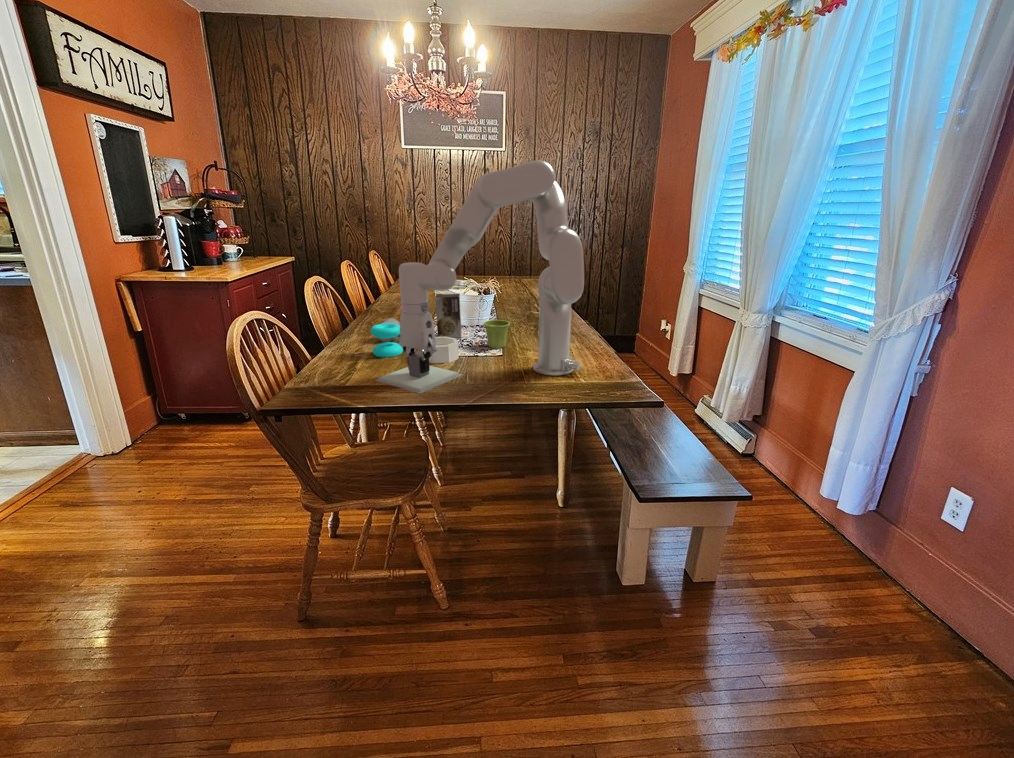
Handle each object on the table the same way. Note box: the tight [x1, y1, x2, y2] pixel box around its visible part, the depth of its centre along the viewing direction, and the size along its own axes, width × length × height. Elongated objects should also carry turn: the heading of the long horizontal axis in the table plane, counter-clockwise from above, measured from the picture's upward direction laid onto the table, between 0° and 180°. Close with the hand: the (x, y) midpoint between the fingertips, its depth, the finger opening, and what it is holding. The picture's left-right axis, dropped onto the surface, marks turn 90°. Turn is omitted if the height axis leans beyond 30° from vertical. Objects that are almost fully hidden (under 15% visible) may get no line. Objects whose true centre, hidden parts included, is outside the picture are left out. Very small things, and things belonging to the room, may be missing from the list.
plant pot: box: [483, 319, 511, 349], centre depth 171 cm, size 9×9×9 cm
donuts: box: [370, 323, 404, 359], centre depth 161 cm, size 10×10×10 cm
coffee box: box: [435, 293, 463, 339], centre depth 183 cm, size 9×6×16 cm
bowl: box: [424, 336, 460, 364], centre depth 157 cm, size 12×12×6 cm
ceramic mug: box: [377, 317, 400, 343], centre depth 178 cm, size 11×8×8 cm
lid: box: [379, 352, 459, 391], centre depth 139 cm, size 16×16×7 cm
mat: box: [374, 373, 463, 394], centre depth 140 cm, size 18×18×1 cm
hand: (419, 369), depth 139 cm, fingers closed on lid, 4 cm apart
